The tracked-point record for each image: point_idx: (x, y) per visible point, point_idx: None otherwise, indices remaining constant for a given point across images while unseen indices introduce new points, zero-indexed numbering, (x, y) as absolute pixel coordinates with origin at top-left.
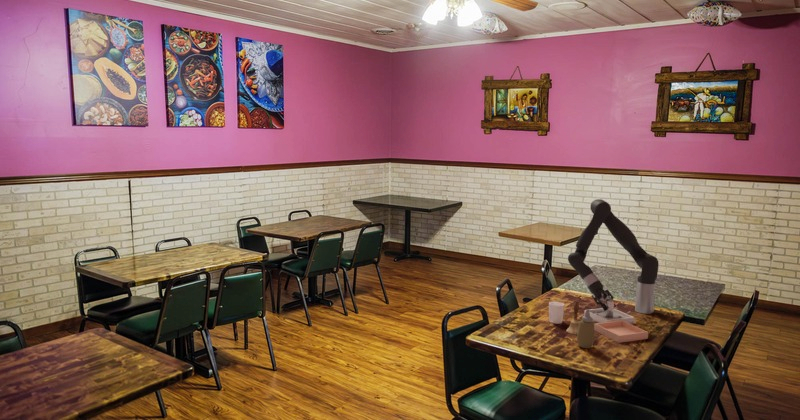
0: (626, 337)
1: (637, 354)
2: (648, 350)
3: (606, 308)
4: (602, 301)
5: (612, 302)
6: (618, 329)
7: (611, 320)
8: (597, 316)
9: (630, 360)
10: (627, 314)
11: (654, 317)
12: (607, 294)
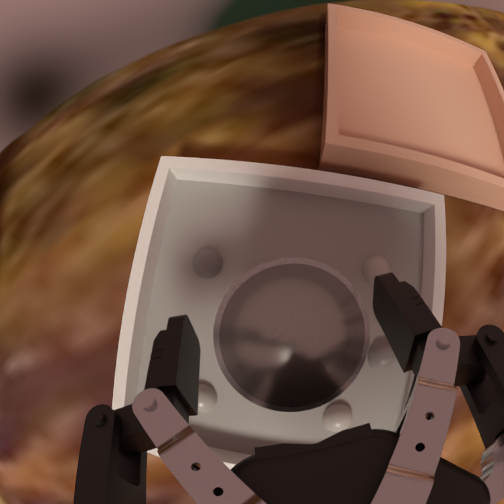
0: (447, 45)
1: (455, 15)
2: (406, 3)
3: (396, 284)
4: (450, 349)
5: (312, 261)
6: (406, 123)
7: (404, 187)
8: (441, 316)
9: (488, 21)
10: (141, 230)
11: (3, 220)
12: (201, 488)
